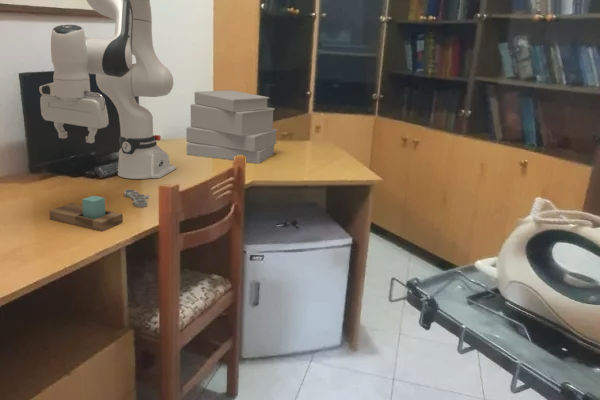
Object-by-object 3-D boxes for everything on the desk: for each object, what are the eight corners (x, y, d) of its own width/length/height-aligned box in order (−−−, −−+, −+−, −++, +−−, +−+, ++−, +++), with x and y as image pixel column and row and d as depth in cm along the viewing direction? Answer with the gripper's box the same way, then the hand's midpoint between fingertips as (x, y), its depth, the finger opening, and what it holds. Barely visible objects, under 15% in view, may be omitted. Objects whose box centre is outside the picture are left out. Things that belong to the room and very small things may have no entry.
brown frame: (72, 211, 155) (71, 202, 155) (122, 222, 149) (122, 213, 148) (50, 219, 148) (49, 210, 148) (102, 231, 142) (101, 222, 141)
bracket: (122, 203, 160) (124, 188, 174) (123, 209, 161) (124, 194, 174) (149, 202, 162) (148, 187, 176) (149, 208, 163) (148, 193, 176)
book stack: (258, 166, 217) (260, 102, 210) (179, 156, 226) (178, 94, 218) (280, 151, 245) (283, 94, 237) (209, 143, 253) (209, 88, 246)
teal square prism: (94, 219, 150) (92, 195, 148) (105, 222, 149) (104, 197, 147) (83, 223, 147) (82, 199, 145) (95, 226, 145) (93, 201, 143)
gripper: (112, 92, 143) (115, 143, 148) (52, 84, 150) (57, 133, 154) (95, 94, 137) (99, 147, 142) (34, 86, 144) (39, 137, 149)
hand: (76, 140), depth 148 cm, fingers open, 8 cm apart
